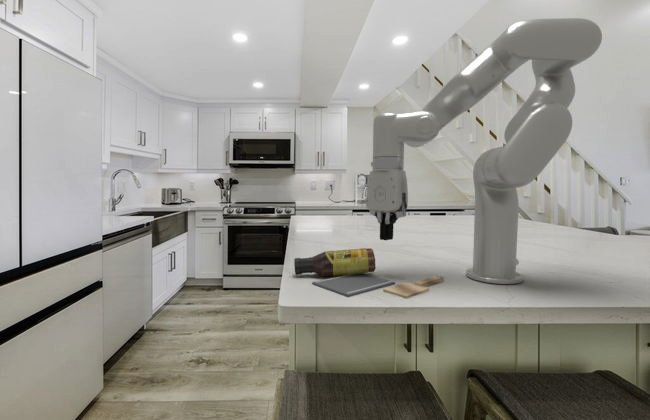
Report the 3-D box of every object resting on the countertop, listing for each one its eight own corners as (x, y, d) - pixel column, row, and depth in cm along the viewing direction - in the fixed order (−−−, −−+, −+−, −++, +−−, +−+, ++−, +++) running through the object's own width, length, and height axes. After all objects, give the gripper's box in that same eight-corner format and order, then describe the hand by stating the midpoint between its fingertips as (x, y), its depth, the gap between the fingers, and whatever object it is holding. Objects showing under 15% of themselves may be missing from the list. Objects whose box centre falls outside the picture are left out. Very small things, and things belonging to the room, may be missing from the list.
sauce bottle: (376, 251, 84) (293, 258, 82) (377, 275, 84) (295, 283, 83) (370, 244, 90) (293, 251, 88) (371, 267, 91) (295, 274, 89)
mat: (358, 273, 89) (358, 271, 89) (395, 283, 80) (395, 281, 80) (311, 283, 79) (312, 281, 79) (348, 296, 70) (348, 294, 70)
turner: (429, 277, 85) (429, 273, 85) (451, 283, 80) (451, 278, 80) (383, 291, 74) (383, 287, 74) (406, 299, 70) (406, 294, 70)
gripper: (355, 166, 88) (354, 237, 90) (403, 163, 77) (400, 245, 78) (375, 167, 93) (374, 234, 95) (423, 165, 82) (420, 242, 83)
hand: (386, 239), depth 86 cm, fingers closed
